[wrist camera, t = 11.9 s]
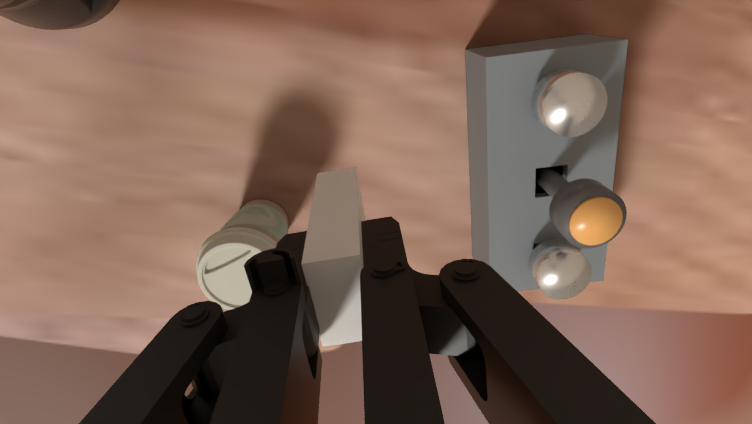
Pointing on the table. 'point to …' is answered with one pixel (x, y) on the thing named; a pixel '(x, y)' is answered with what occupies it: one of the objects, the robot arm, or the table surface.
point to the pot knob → (582, 209)
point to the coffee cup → (238, 251)
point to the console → (533, 145)
